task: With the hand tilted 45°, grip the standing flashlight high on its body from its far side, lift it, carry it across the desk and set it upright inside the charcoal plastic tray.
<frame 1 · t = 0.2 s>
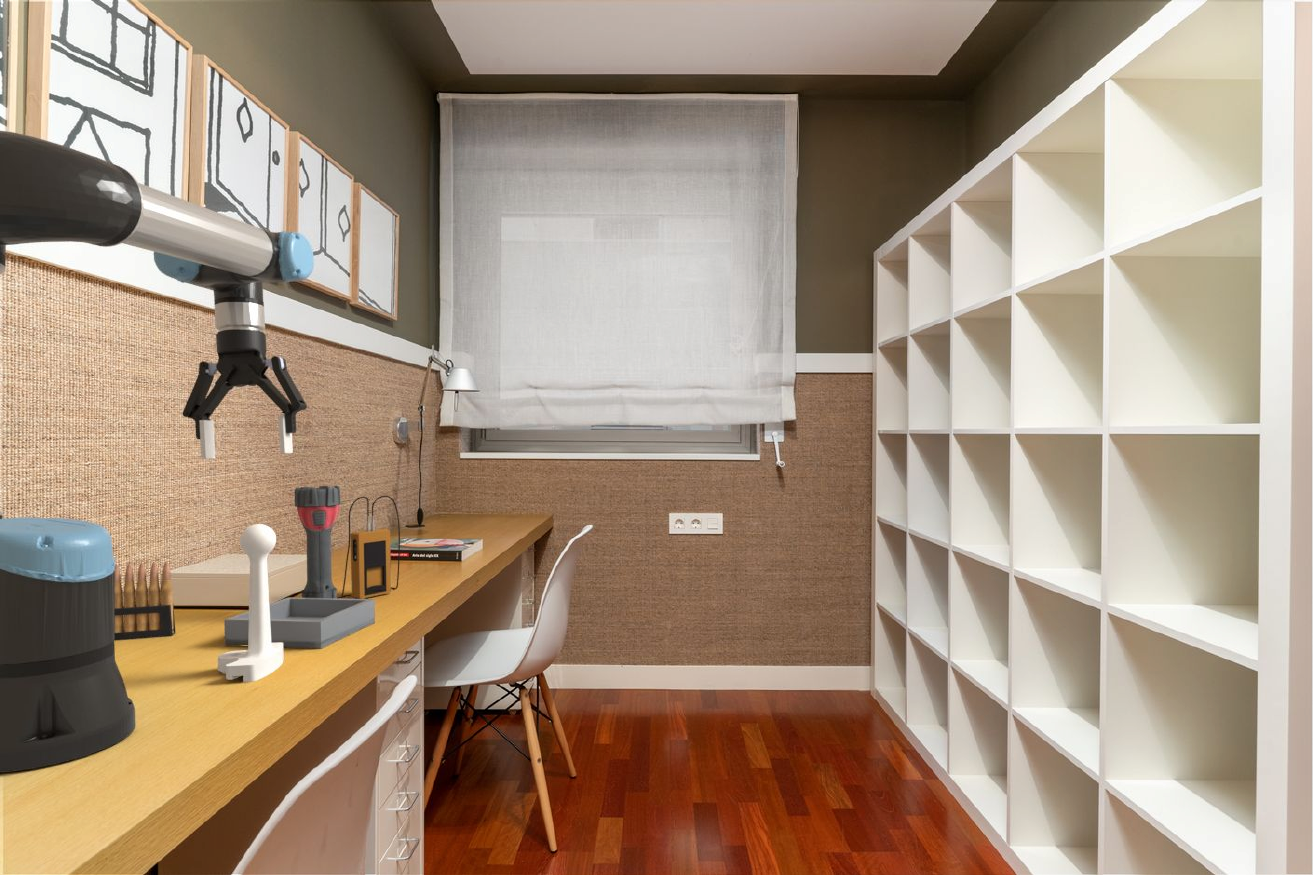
hand: (247, 456, 133), 29 cm above the table, tool pointing down, fingers open, 13 cm apart
multimeter: (360, 595, 157), on the table
ammunition clip: (136, 638, 126), on the table
joystick: (248, 671, 107), on the table
tray: (303, 633, 127), on the table
flashlight: (319, 613, 141), on the table
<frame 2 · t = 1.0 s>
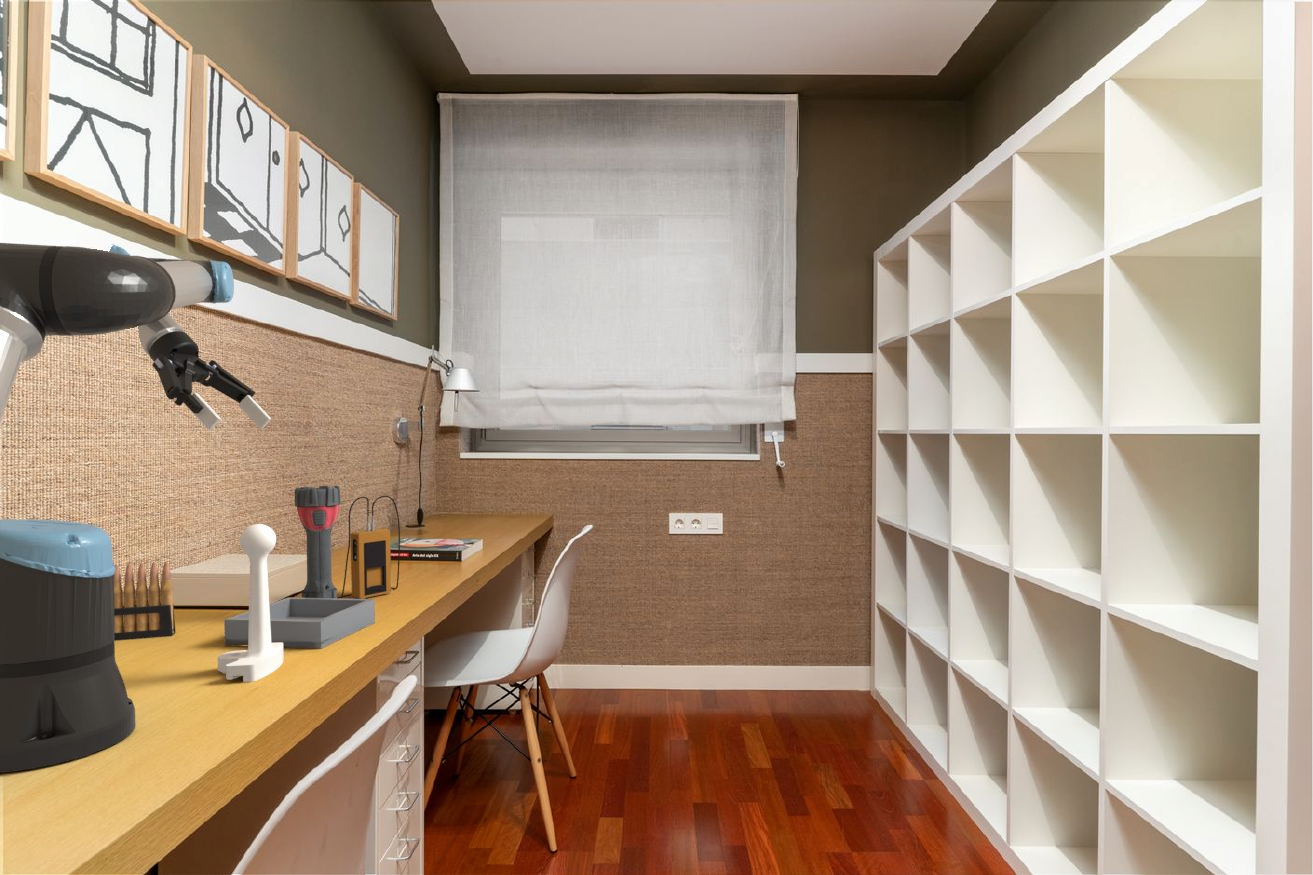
hand: (241, 424, 143), 34 cm above the table, tool tilted 45°, fingers open, 13 cm apart
nothing on the table moved.
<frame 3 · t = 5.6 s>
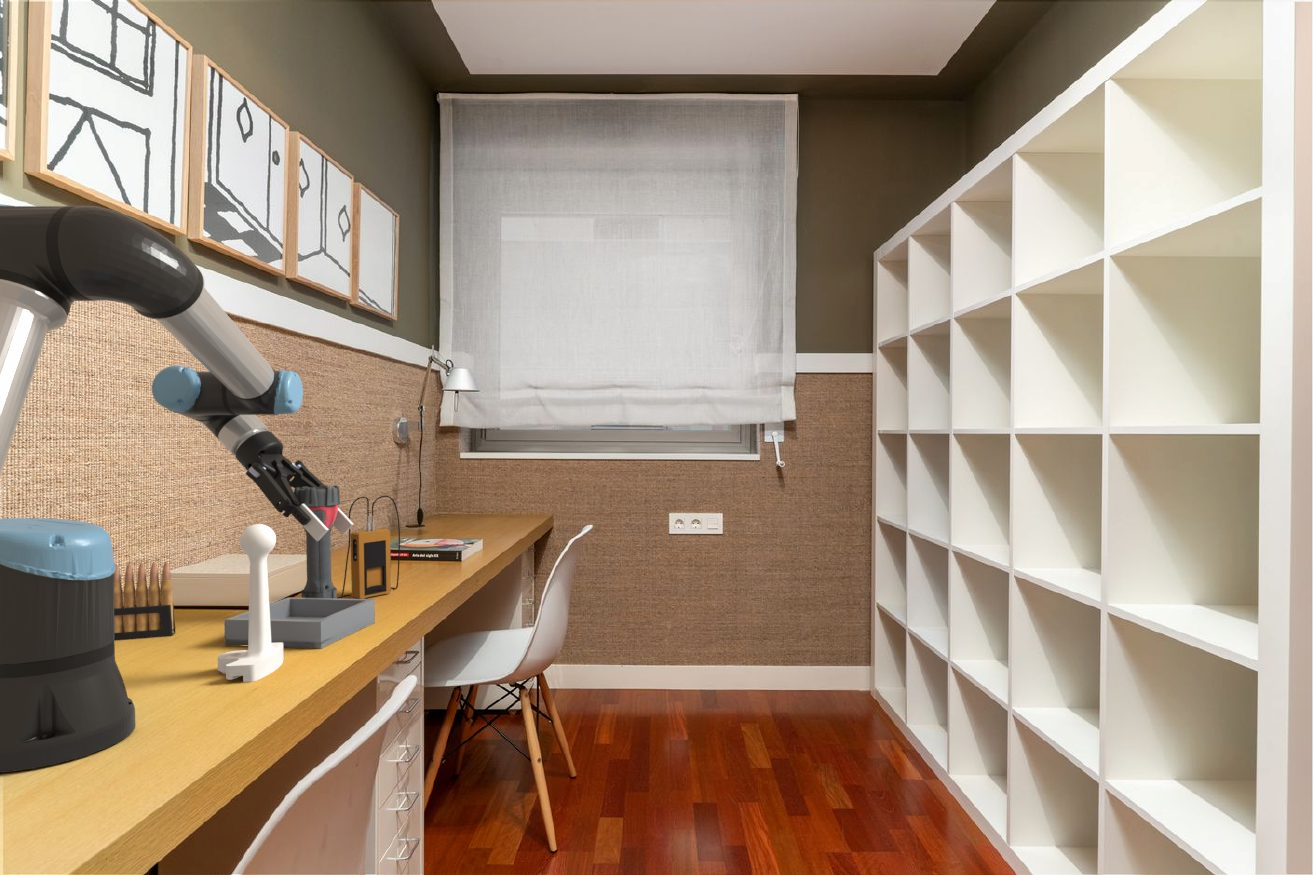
hand: (335, 532, 141), 15 cm above the table, tool tilted 45°, fingers closed on flashlight, 7 cm apart
flashlight: (319, 613, 141), on the table, touching gripper
everything else where it was.
when the fingers open (16 cm above the table, at t = 12.3 s): flashlight stays where it is, resting on tray.
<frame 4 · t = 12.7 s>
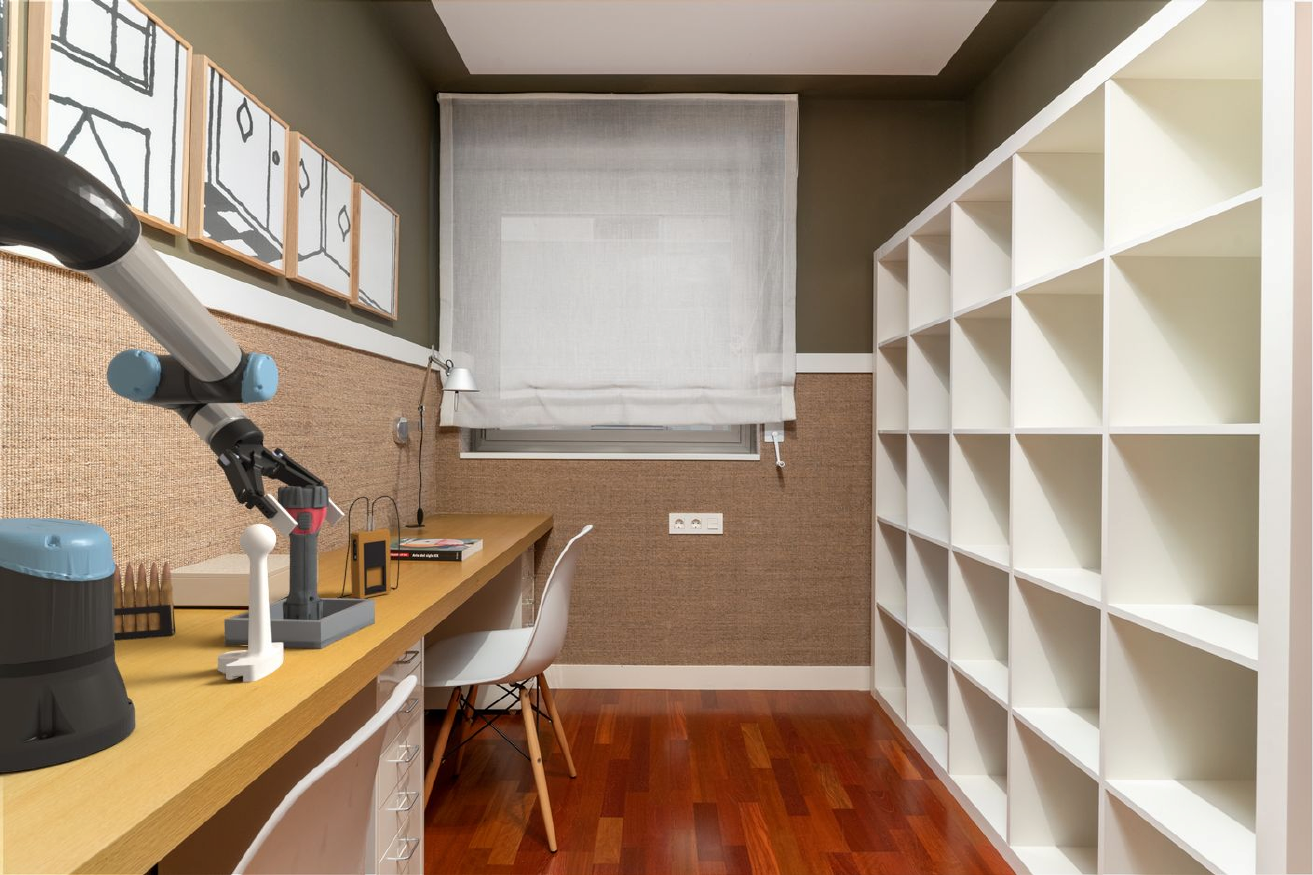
hand: (316, 525, 126), 18 cm above the table, tool tilted 45°, fingers open, 12 cm apart
flashlight: (302, 628, 127), point 1 cm above the table, touching tray
everything else where it was.
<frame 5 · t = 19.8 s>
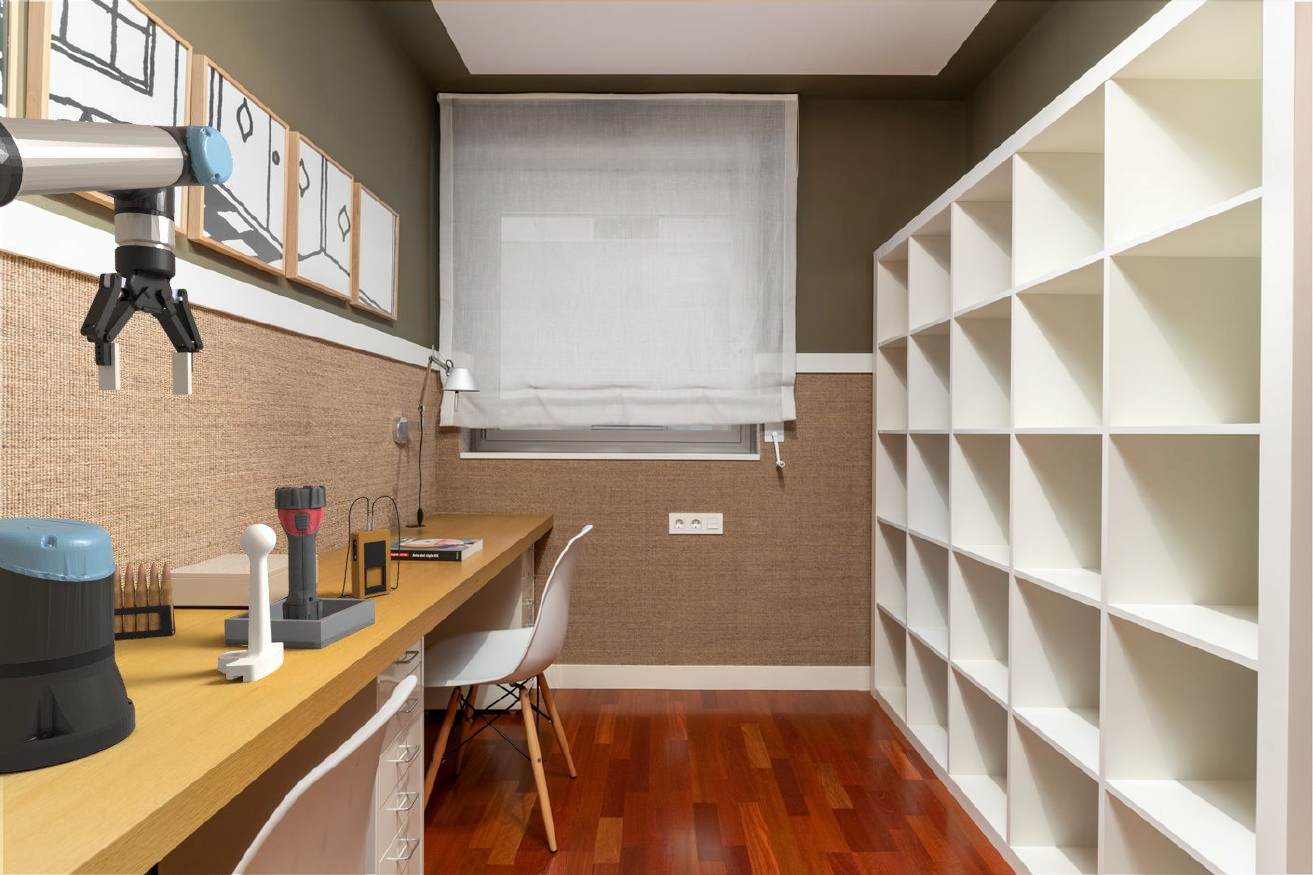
hand: (148, 392, 116), 39 cm above the table, tool pointing down, fingers open, 13 cm apart
nothing on the table moved.
at the end: flashlight inside the target area on the tray (0.1 cm from its centre), point 0.8 cm above the tray's base; flashlight tilted 0°; the gripper is holding nothing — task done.
